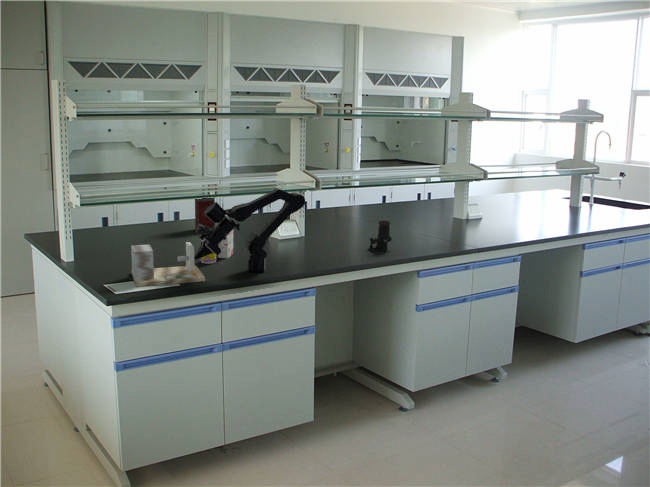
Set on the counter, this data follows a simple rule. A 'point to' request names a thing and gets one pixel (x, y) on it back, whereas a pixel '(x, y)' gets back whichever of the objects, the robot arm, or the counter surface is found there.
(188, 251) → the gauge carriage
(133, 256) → the gauge frame
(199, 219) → the toy vending machine
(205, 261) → the supplement bottle
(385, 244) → the scope
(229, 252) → the ink cartridge box
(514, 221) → the counter surface
